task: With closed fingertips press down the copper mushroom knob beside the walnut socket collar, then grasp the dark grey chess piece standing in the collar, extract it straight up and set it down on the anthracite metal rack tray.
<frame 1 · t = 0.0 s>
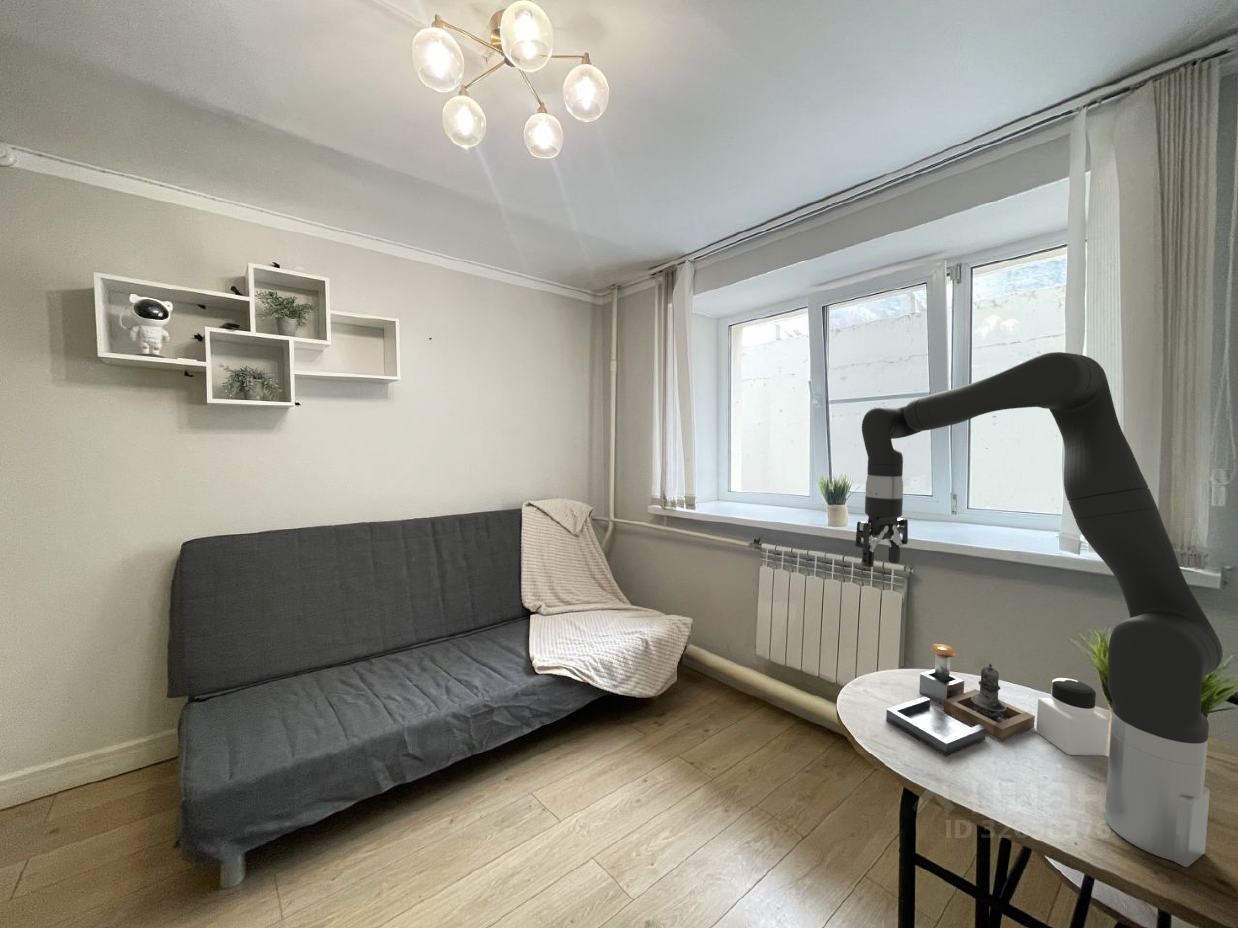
hand: (881, 564, 109), 29 cm above the table, fingers open, 8 cm apart
medicine bottle: (1069, 744, 91), on the table
socket collar: (987, 719, 99), on the table
rack tray: (934, 729, 95), on the table
copper mushroom knob: (942, 663, 107), point 8 cm above the table, slide at 0.0 cm
dark grey chess piece: (987, 720, 99), resting in socket collar
key housing: (941, 696, 107), on the table
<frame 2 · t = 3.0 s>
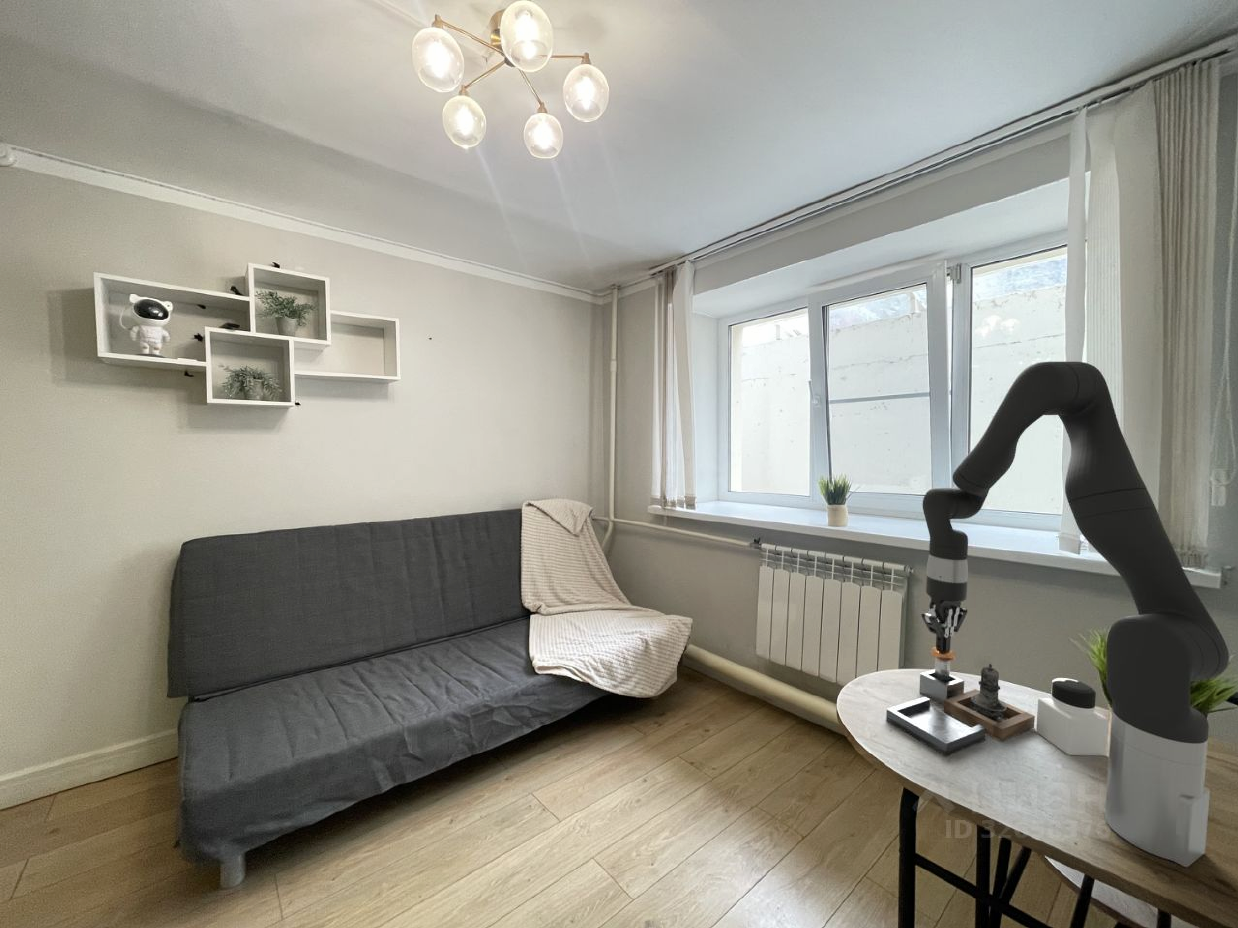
hand: (942, 651, 107), 10 cm above the table, fingers closed
copper mushroom knob: (942, 666, 107), point 7 cm above the table, slide at -0.8 cm, touching gripper
everything else where it was.
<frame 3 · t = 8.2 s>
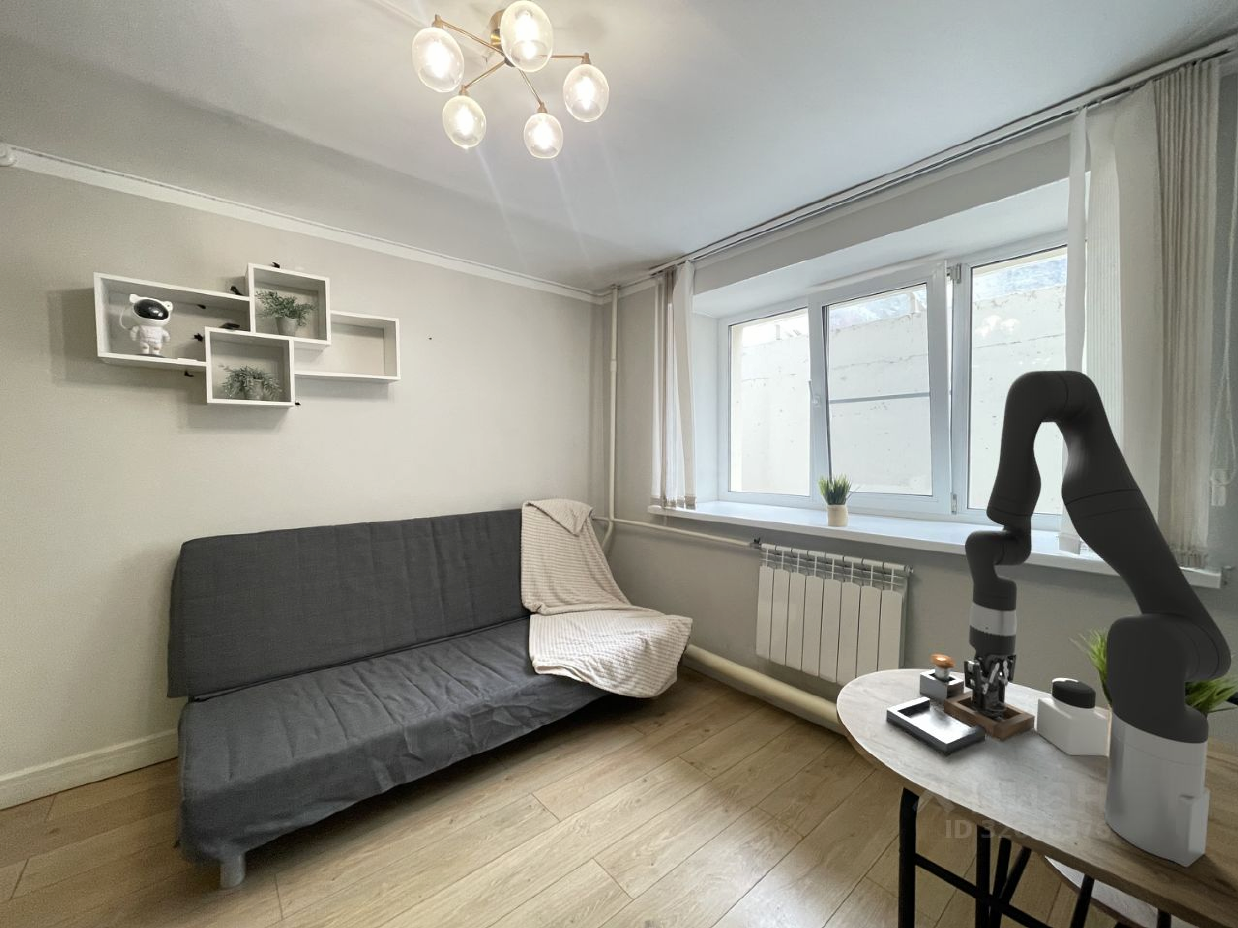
hand: (988, 704, 99), 3 cm above the table, fingers closed on dark grey chess piece, 6 cm apart
copper mushroom knob: (942, 673, 107), point 5 cm above the table, slide at -2.4 cm
dark grey chess piece: (987, 720, 99), resting in socket collar, touching gripper
everything else where it was.
when the fingers open (5 cm above the table, at t = 14.0 s): dark grey chess piece drops 1 cm, resting on rack tray.
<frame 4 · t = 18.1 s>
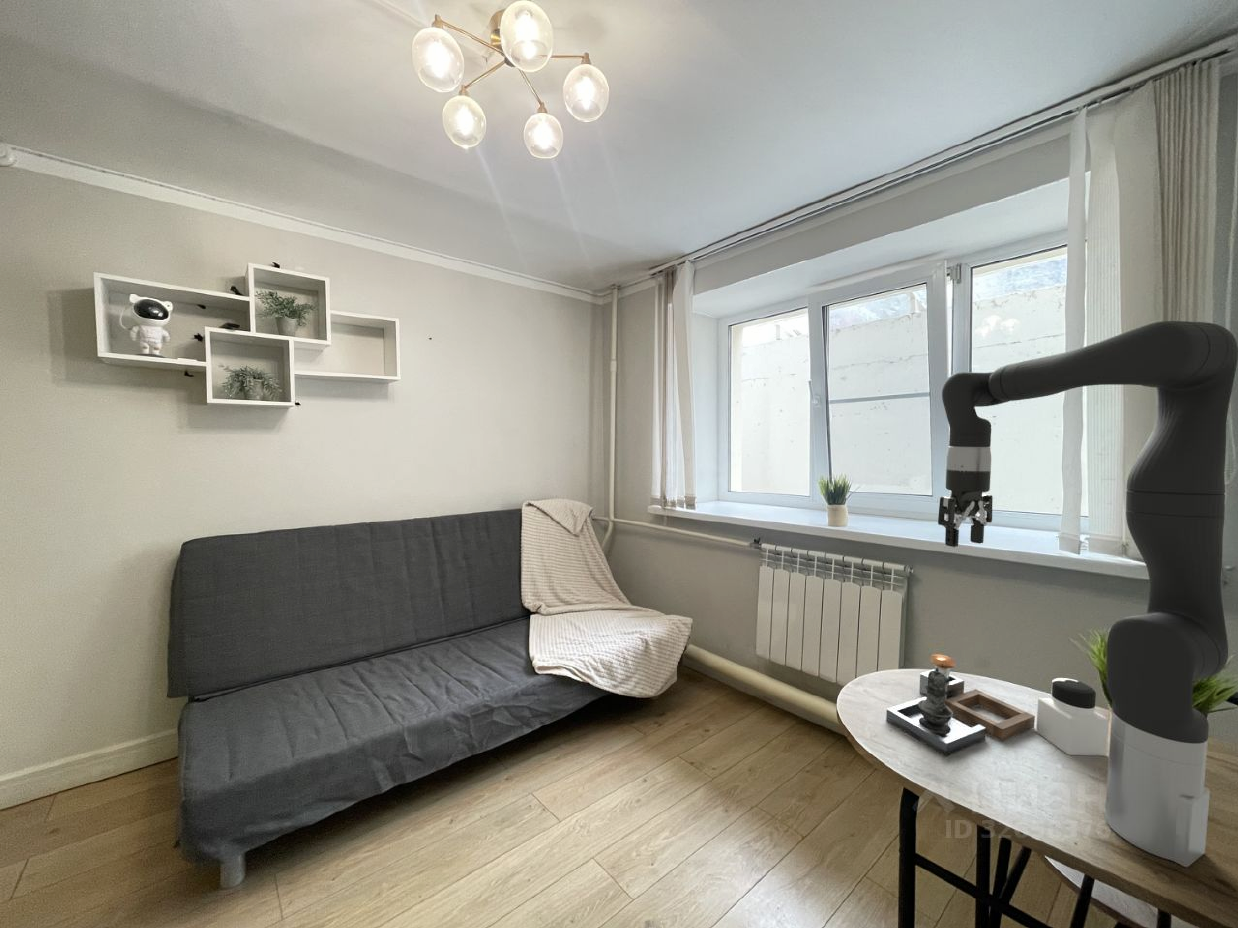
hand: (964, 544, 100), 36 cm above the table, fingers open, 8 cm apart
dark grey chess piece: (934, 726, 95), point 1 cm above the table, touching rack tray
everything else where it was.
at the end: dark grey chess piece inside the target area on the rack tray (0.5 cm from its centre), point 0.8 cm above the rack tray's base; dark grey chess piece tilted 0°; copper mushroom knob slide at -2.4 cm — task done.
